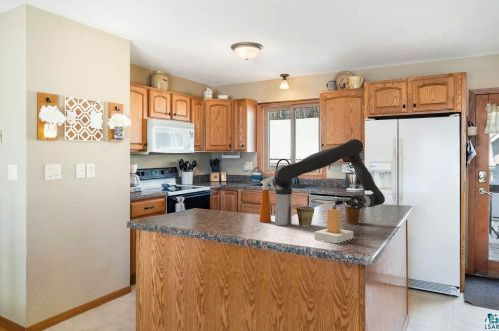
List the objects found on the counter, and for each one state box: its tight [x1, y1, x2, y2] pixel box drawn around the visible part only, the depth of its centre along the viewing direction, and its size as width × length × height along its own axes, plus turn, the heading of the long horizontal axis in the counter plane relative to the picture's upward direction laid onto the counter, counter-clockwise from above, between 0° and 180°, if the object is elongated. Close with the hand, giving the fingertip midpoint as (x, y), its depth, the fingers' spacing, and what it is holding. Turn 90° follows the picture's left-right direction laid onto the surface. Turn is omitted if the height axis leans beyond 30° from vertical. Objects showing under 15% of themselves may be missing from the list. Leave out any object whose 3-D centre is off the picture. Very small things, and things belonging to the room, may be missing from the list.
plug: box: [326, 204, 342, 234], centre depth 162 cm, size 4×4×16 cm
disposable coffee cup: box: [344, 203, 361, 225], centre depth 200 cm, size 10×10×12 cm
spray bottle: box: [258, 176, 276, 223], centre depth 202 cm, size 7×11×26 cm, turn 57°
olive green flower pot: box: [295, 205, 316, 228], centre depth 194 cm, size 13×10×10 cm
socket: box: [314, 228, 354, 244], centre depth 163 cm, size 14×12×4 cm
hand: (343, 204), depth 173 cm, fingers open, 8 cm apart
